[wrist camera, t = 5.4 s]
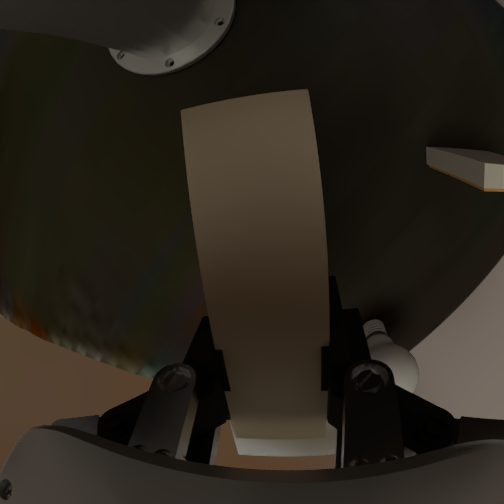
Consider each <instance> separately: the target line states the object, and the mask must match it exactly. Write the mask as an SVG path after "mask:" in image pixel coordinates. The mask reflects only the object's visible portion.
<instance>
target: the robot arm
mask: <svg viewBox="0 0 504 504" xmlns="http://www.w3.org/2000/svg"><path fill="white" fill-rule="evenodd" d="M235 10H236V1H235V0H0V29H8V30H19V31H28V32H36V33H43V34H49V35H55V36H61V37H66V38H71V39H76V40H80V41H84V42H89V43H93V44H96V45H100V46H104V47H108V49H109V51H110V53H111V56H112V57H113V58H114V60H115V61H116V62H117V63H118V64H119V65H120V66H121V67H123V68H124V69H126V70H129V71H131V72H133V73H137V74H141V75H151V76H156V75H166V74H170V73H173V72H177V71H180V70H182V69H184V68H187V67H189V66H191V65H193V64H194V63H196V62H198V61H199V60H201V59H203V58H204V57H205V56H206V55H207V54H209V53H210V52H211V51H212V50H214V48H215V47H216V46H217V45H218V44H219V43H220V42H221V41H222V40H223V38H224V37H225V35H226V34H227V32H228V31H229V29H230V27H231V24H232V22H233V20H234V15H235ZM220 23H224V24H223V25H220V26H219V24H220ZM173 62H174V64H173V66H171V65H172V63H173ZM328 279H329V322H330V342H329V346H323V347H321V391H328V399H327V423H329V424H330V425H332V426H333V427H334V428H336V444H335V460H334V469H321V470H289V471H288V470H256V469H243V468H233V467H232V468H231V467H224V466H216V465H215V460H216V454H217V448H218V442H219V435H220V425H222V424H224V423H225V422H226V420H231V416H230V412H229V408H228V404H227V400H226V396H225V391H230V392H231V390H230V385H229V380H228V376H227V371H226V366H225V361H224V356H223V351H222V350H217V349H215V346H214V341H213V336H212V331H211V326H210V321H209V316H204V317H203V318H202V320H201V322H200V324H199V327H198V329H197V331H196V333H195V336H194V338H193V340H192V343H191V345H190V347H189V350H188V352H187V354H186V357H185V359H184V361H183V364H182V363H175V364H171V365H168V366H165V367H164V368H162V369H161V370H160V371H159V372H157V374H156V375H155V377H154V379H153V381H152V384H151V386H150V389H149V391H147V392H145V393H143V394H142V395H139V396H137V397H135V398H133V399H131V400H129V401H127V402H125V403H123V404H120V405H118V406H116V407H114V408H112V409H110V410H108V411H107V412H105V413H104V414H103V415H102V416H101V417H99V416H98V415H94V416H85V417H76V418H66V419H59V420H56V421H55V422H53V423H52V425H42V426H36V427H33V428H31V429H29V430H28V431H26V432H25V433H24V434H23V435H22V437H21V438H20V439H19V440H18V442H17V443H16V445H15V446H14V448H13V449H12V451H11V453H10V454H9V456H8V458H7V459H6V461H5V463H4V465H3V467H2V469H1V470H0V504H504V420H497V419H484V418H473V417H464V416H462V417H461V418H460V419H455V418H454V417H453V416H452V415H451V413H449V412H448V411H446V410H444V409H442V408H440V407H438V406H436V405H434V404H432V403H430V402H428V401H426V400H424V399H422V398H421V397H419V396H417V395H415V394H413V393H411V392H409V391H407V390H405V389H403V388H401V387H399V386H398V385H396V384H395V380H394V375H393V372H392V370H391V369H390V367H389V366H388V365H387V364H385V363H383V362H382V361H378V360H375V359H371V356H370V352H369V348H368V344H367V340H366V336H365V332H364V328H363V324H362V321H361V317H360V313H359V310H358V309H357V308H354V309H343V310H342V305H341V300H340V296H339V291H338V287H337V283H336V278H335V276H328Z"/></svg>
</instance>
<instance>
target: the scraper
mask: <svg viewBox="0 0 504 504" xmlns="http://www.w3.org/2000/svg"><path fill="white" fill-rule="evenodd" d="M181 119H182V131H183V142H184V152H185V161H186V171H187V179H188V188H189V196H190V204H191V211H192V219H193V226H194V233H195V239H196V246H197V253H198V259H199V265H200V271H201V277H202V283H203V289H204V294H205V300H206V305H207V311H208V316H209V321H210V326H211V331H212V336H213V341H214V346H215V349H217V350H222V351H223V356H224V361H225V366H226V371H227V376H228V380H229V385H230V390H231V392H230V391H225V396H226V400H227V404H228V408H229V412H230V416H231V420H229V421H230V425H231V429H232V432H233V436H234V440H235V443H236V447H237V450H238V453H239V454H241V455H256V456H312V455H313V456H314V455H329V454H335V444H336V428H334V427H333V426H332V425H330V424H329V423H327V399H328V391H321V347H323V346H329V342H330V322H329V279H328V258H327V241H326V227H325V215H324V203H323V193H322V184H321V175H320V166H319V158H318V150H317V143H316V136H315V129H314V123H313V116H312V110H311V104H310V99H309V93H308V89H303V90H292V91H282V92H273V93H266V94H259V95H252V96H246V97H240V98H234V99H229V100H224V101H219V102H214V103H209V104H205V105H200V106H196V107H192V108H188V109H184V110H181Z"/></svg>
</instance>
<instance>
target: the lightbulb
mask: <svg viewBox="0 0 504 504" xmlns="http://www.w3.org/2000/svg"><path fill="white" fill-rule="evenodd" d="M363 328H364V332H365V336H366V340H367V344H368V348H369V352H370V356H371V359H375V360H378V361H382V362H383V363H385V364H387V365H388V366H389V367H390V369H391V370H392V372H393V375H394V380H395V384H396V385H398V386H399V387H401V388H403V389H405V390H407V391H409V392H411V393H414V392H415V389H416V387H417V384H418V380H419V369H418V365H417V362H416V360H415V358H414V357H413V355H412V354H411V353H410V352H409V351H408V350H406V349H405V348H403V347H401V346H398V345H396V344H394V342H393V341H392V340H391V338H390V337H388V335H387V333H386V330H385V327H384V324H383V322H382V321H380V320H376V319H375V320H370V321H368V322H366V323H365V324H364V325H363Z"/></svg>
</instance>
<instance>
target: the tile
mask: <svg viewBox="0 0 504 504" xmlns="http://www.w3.org/2000/svg"><path fill="white" fill-rule="evenodd" d="M426 156H427V165H429V167H430V168H433V169H435V170H438V171H440V172H443V173H445V174H448V175H450V176H452V177H455V178H457V179H459V180H461V181H464V182H466V183H468V184H470V185H472V186H475V187H477V188H479V189H481V190H483V191H502V192H504V156H503V155H499V154H496V153H492V152H488V151H480V150H469V149H457V148H442V147H426Z"/></svg>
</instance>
